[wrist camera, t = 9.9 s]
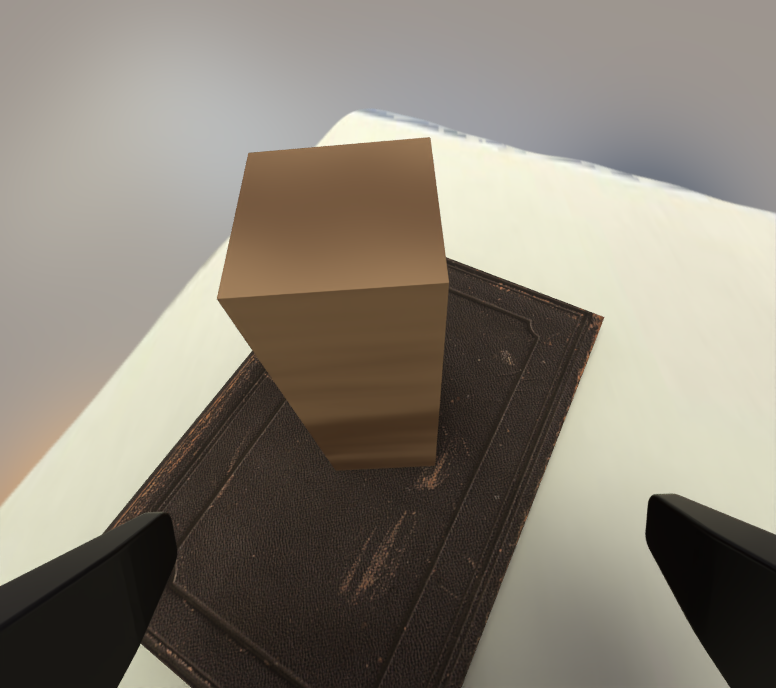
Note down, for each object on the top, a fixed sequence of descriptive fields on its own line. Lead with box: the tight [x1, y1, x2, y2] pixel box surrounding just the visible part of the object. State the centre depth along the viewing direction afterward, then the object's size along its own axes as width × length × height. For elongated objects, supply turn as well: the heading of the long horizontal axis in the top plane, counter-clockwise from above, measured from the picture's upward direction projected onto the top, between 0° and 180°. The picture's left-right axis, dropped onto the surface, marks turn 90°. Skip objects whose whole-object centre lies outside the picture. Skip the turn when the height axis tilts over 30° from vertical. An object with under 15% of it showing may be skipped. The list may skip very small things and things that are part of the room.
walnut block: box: [217, 137, 449, 471], centre depth 15 cm, size 4×4×13 cm
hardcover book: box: [103, 257, 604, 688], centre depth 21 cm, size 16×23×2 cm
